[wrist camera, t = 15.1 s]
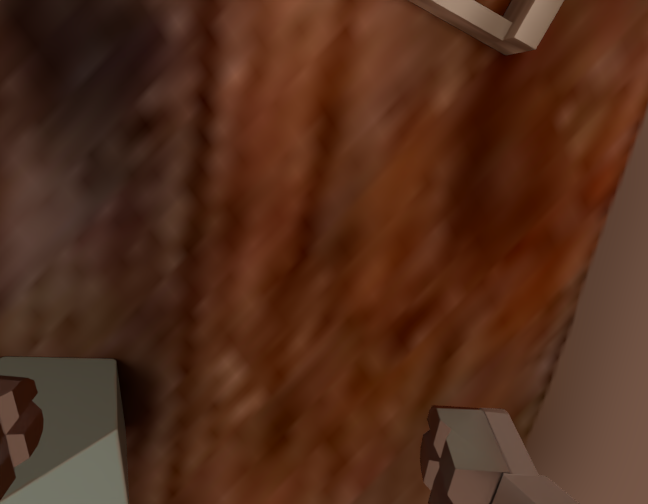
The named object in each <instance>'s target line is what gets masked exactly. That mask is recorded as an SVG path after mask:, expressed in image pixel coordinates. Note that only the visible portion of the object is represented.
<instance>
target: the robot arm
mask: <svg viewBox="0 0 648 504" xmlns="http://www.w3.org/2000/svg"><path fill="white" fill-rule="evenodd" d="M37 393H38V391H37V388H36V385H35V381H34V380H32V379H30V378H26V377H15V376H4V375H0V500H1V499H2V497H3V496H4V494H5V493H6V492H7V490H8V489H9V487H10V486H11V484H12V483H13V481H14V480H15V479H16V474H15V467H16V466H18V465H19V464H21V463H22V462H24V461H26V460H27V459H29V458H30V457H31V455H32V454H33V452H34V451H35V449H36V447H37V446H38V444H39V441H40V438H41V435H42V432H43V423H44V418H43V413H42V409H40V408H39V407H38V406H37V405H36V404H35V403H34V402H33V401H32V400H33V399H34V397H35V396H36V395H37ZM427 421H428V425H429V428H430V430H429V431H427V432H426V433H425V434H424V435H423V438H422V442H421V449H420V465H421V473H422V477H423V482H424V483H425V484H426V485H427V486H428V488H429V489H430V490H431V493H430V497H429V501H428V504H579V503H578V502H577V501H576V500H575V499H573V498H572V497H571V496H570V495H569V494H567V493H566V492H565V491H564V490H562V489H561V488H560V487H559V486H558V485H556V484H555V483H554V482H553V481H551V480H550V479H549V478H548V477H547V476H539V475H538V473H537V471H536V469H535V467H534V465H533V463H532V460H531V458H530V456H529V454H528V452H527V450H526V448H525V446H524V444H523V442H522V440H521V438H520V436H519V434H518V432H517V430H516V428H515V426H514V424H513V422H512V420H511V418H510V416H509V414H508V412H506V411H505V410H504V409H492V408H470V407H454V406H437V405H432V407H431V409H430V410H429V414H428V418H427Z"/></svg>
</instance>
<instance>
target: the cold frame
mask: <svg viewBox="0 0 648 504" xmlns="http://www.w3.org/2000/svg"><path fill="white" fill-rule="evenodd" d="M408 1H410V2H412V3H414V4H415V5H417V6H419V7H421V8H423V9H424V10H426V11H428V12H430V13H431V14H433V15H435V16H437V17H439V18H440V19H442V20H444V21H446V22H447V23H449V24H451V25H453V26H455V27H456V28H458V29H460V30H462V31H463V32H465V33H467V34H469V35H471V36H472V37H474V38H476V39H478V40H479V41H481V42H483V43H485V44H487V45H488V46H490V47H492V48H494V49H495V50H497V51H499V52H501V53H503V54H504V55H510V54H515V53H520V52H525V51H530V50H535V49H536V48H537V46H538V44H539V42H540V41H541V39H542V37H543V36H544V34H545V32H546V30H547V29H548V27H549V25H550V24H551V22H552V20H553V18H554V17H555V15H556V13H557V12H558V10H559V8H560V6H561V5H562V3H563V1H564V0H512V1H511V3H510V5H509V7H508V8H507V10H506V12H505V14H504V16H503V17H502V16H500V15H498V14H496V13H495V12H493V11H491V10H489V9H488V8H486V7H484V6H483V5H481V4H479V3H477V2H476V1H474V0H408Z"/></svg>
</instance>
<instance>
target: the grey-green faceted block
mask: <svg viewBox="0 0 648 504" xmlns="http://www.w3.org/2000/svg"><path fill="white" fill-rule="evenodd" d="M0 375H4V376H15V377H26V378H30V379H32V380H34V381H35V385H36V388H37V391H38V393H37V395H36V396H35V397H34V399H33V400H32V401H33V402H34V403H35V404H36V405H37V406H38V407H39V408H40V409H42V413H43V418H44V423H43V432H42V435H41V438H40V441H39V444H38V446H37V447H36V449H35V451H34V452H33V454H32V455H31V457H30V458H29V459H27V460H26V461H24V462H22V463H21V464H19V465H18V466H16V467H15V474H16V479H15V480H14V481H13V483H12V484H11V486H10V487H9V489H8V490H7V492H6V493H5V494H4V496H3V497H2V499H1V500H0V504H129V489H128V466H127V444H126V427H125V420H124V413H123V406H122V399H121V392H120V384H119V377H118V370H117V363H116V360H114V359H103V358H53V357H2V358H0Z"/></svg>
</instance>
